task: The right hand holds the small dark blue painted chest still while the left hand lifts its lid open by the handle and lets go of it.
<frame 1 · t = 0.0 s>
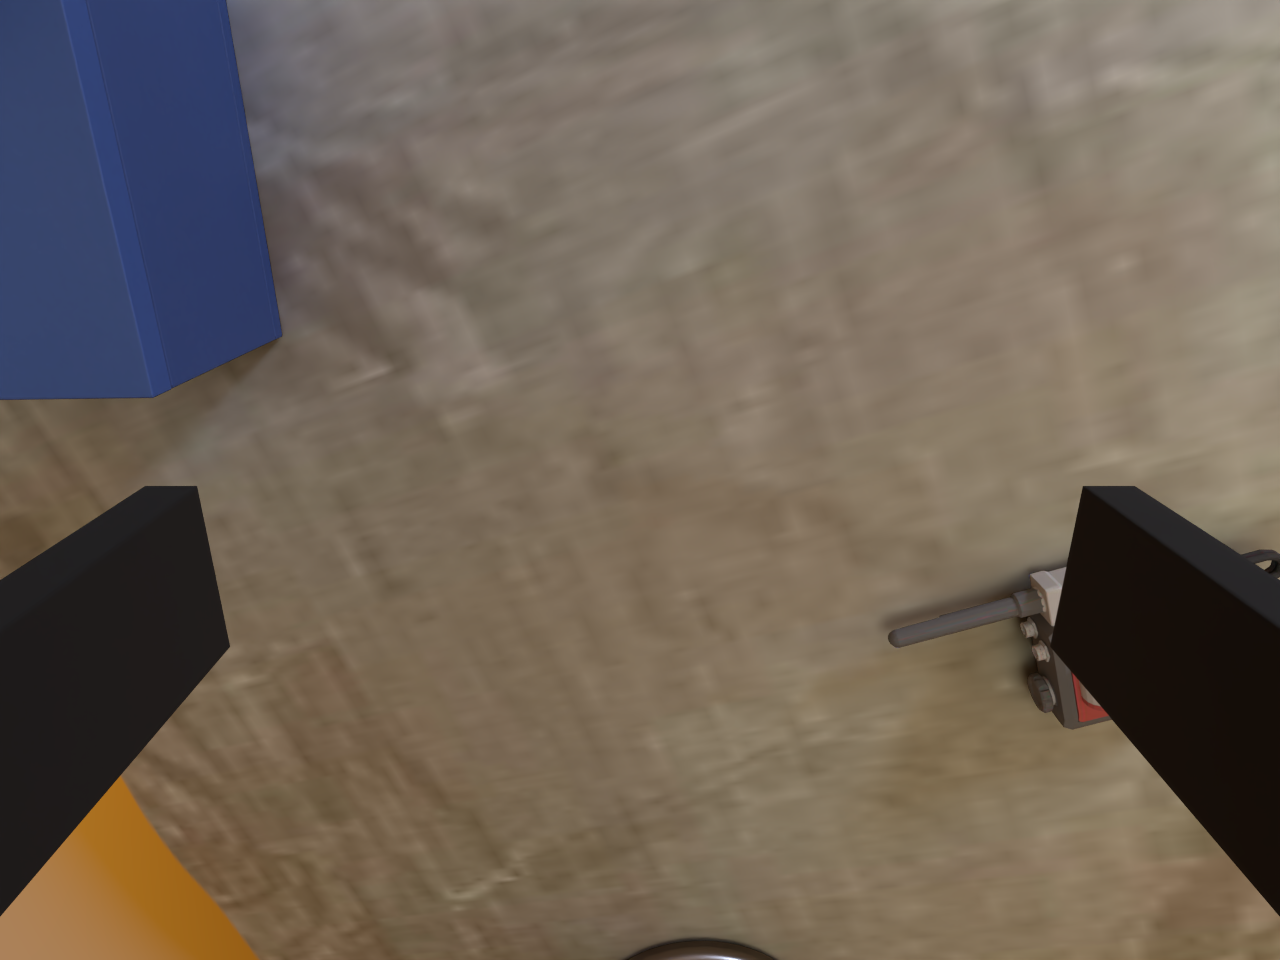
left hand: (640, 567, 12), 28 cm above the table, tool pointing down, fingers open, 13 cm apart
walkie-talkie: (1073, 626, 45), on the table
chest: (142, 170, 37), on the table
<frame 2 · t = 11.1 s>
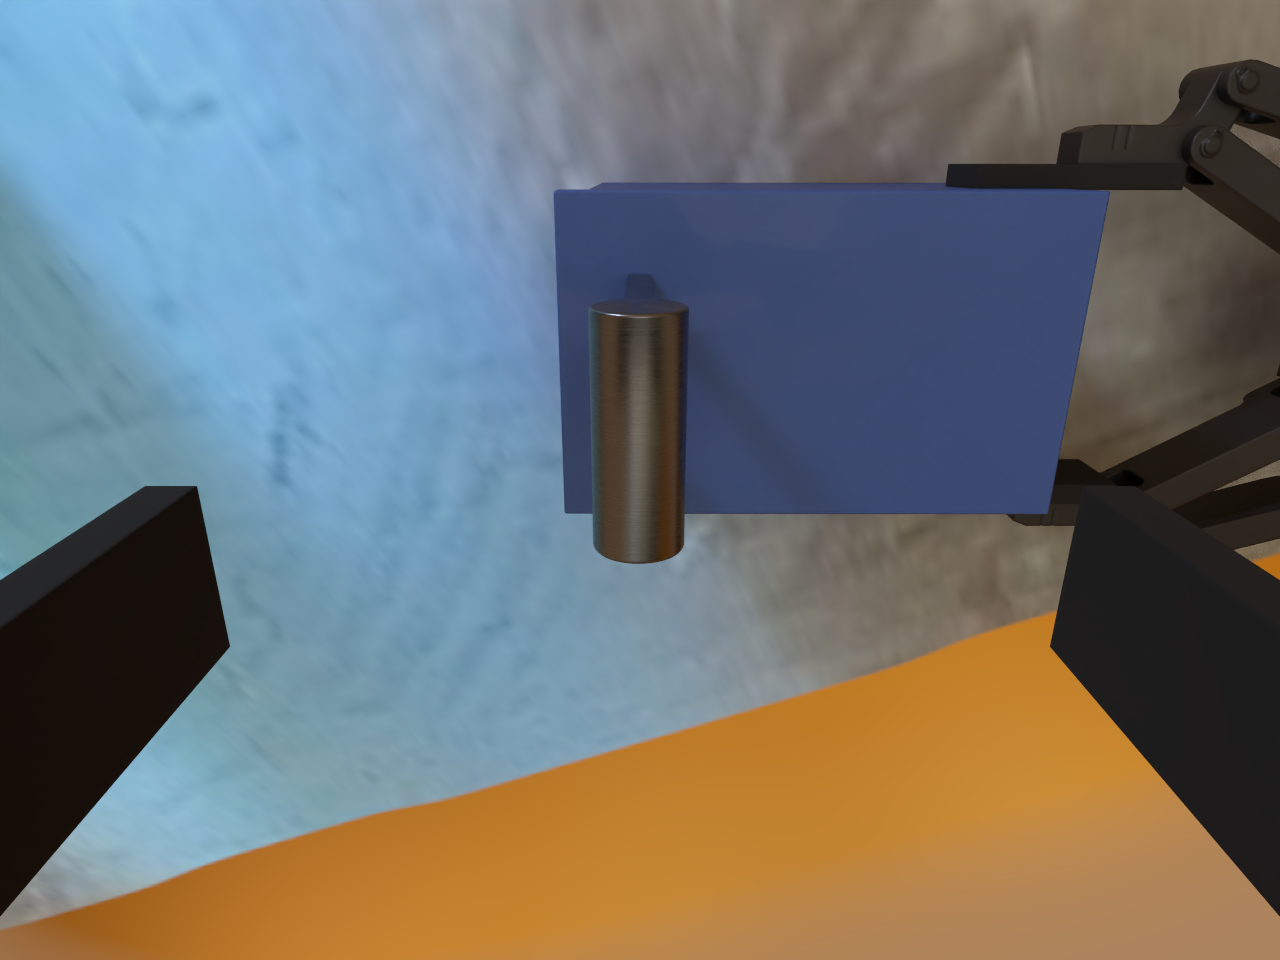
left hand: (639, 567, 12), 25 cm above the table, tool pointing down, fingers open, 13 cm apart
chest: (776, 305, 36), on the table, touching right hand
lid: (843, 392, 22), point 15 cm above the table, hinge at 0.0°
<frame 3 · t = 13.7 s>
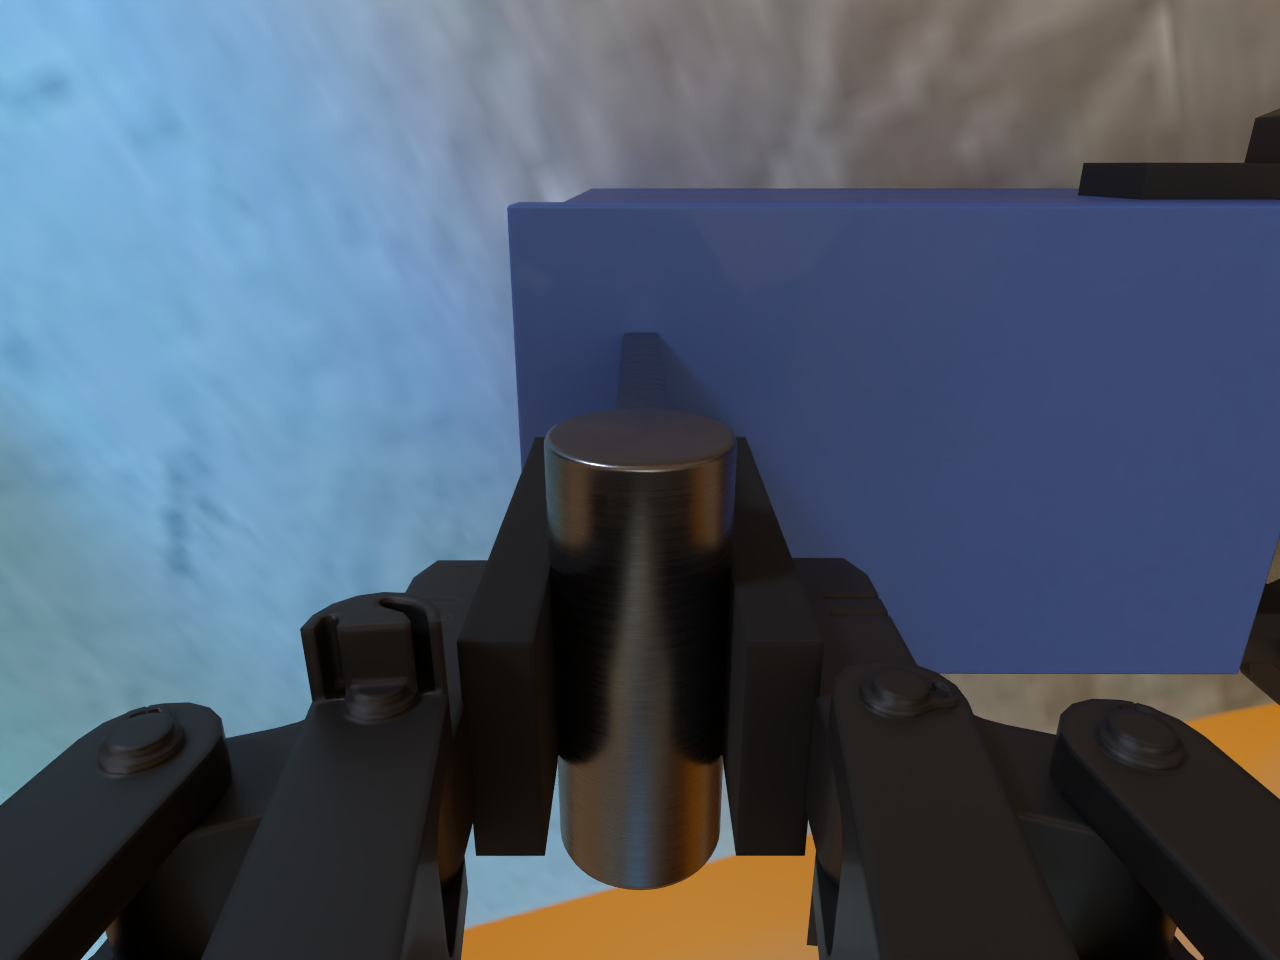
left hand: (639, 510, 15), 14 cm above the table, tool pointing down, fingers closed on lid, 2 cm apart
chest: (820, 349, 27), on the table, touching right hand
lid: (972, 534, 14), point 15 cm above the table, hinge at -0.1°, touching left hand
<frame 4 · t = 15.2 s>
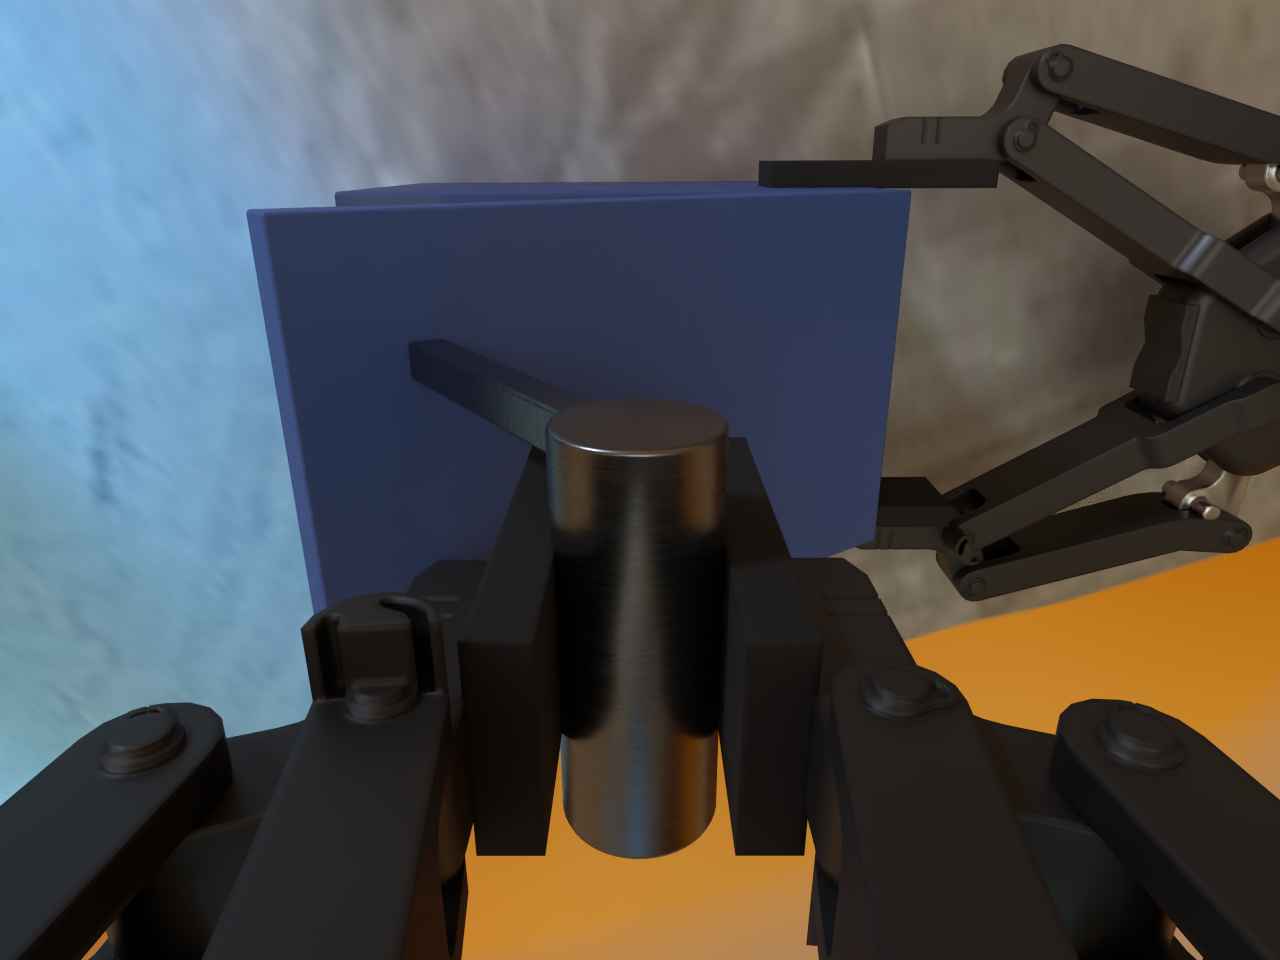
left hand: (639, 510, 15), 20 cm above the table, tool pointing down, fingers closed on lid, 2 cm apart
right hand: (756, 349, 27), fingers closed on chest, 10 cm apart
chest: (617, 313, 33), on the table, touching right hand
lid: (765, 469, 16), point 18 cm above the table, hinge at 34.0°, touching left hand
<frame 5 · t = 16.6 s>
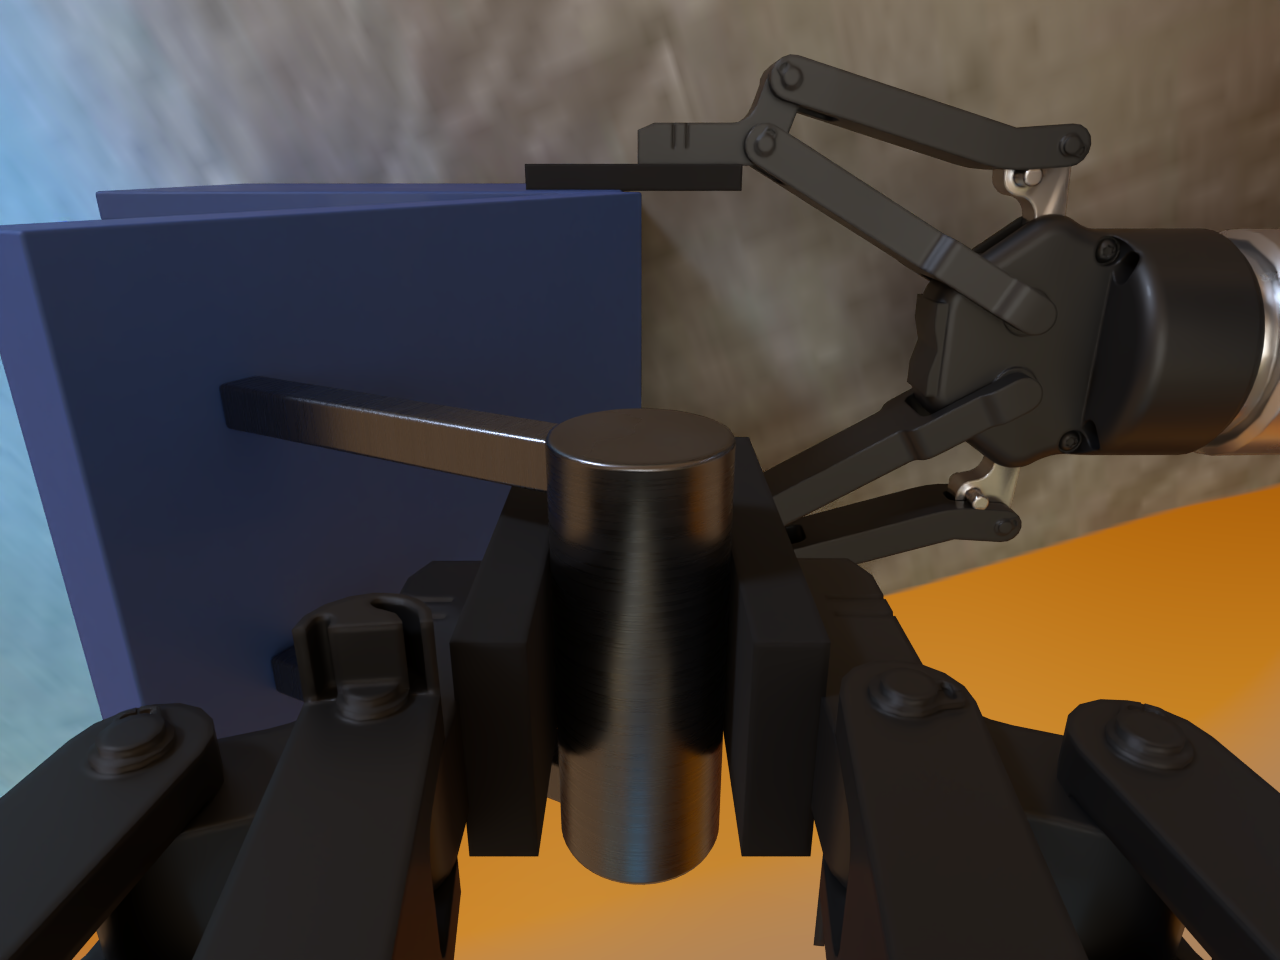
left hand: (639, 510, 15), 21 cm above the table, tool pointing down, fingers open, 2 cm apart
right hand: (538, 345, 28), fingers closed on chest, 10 cm apart
chest: (445, 310, 35), on the table, touching right hand
lid: (610, 470, 16), point 19 cm above the table, hinge at 61.8°
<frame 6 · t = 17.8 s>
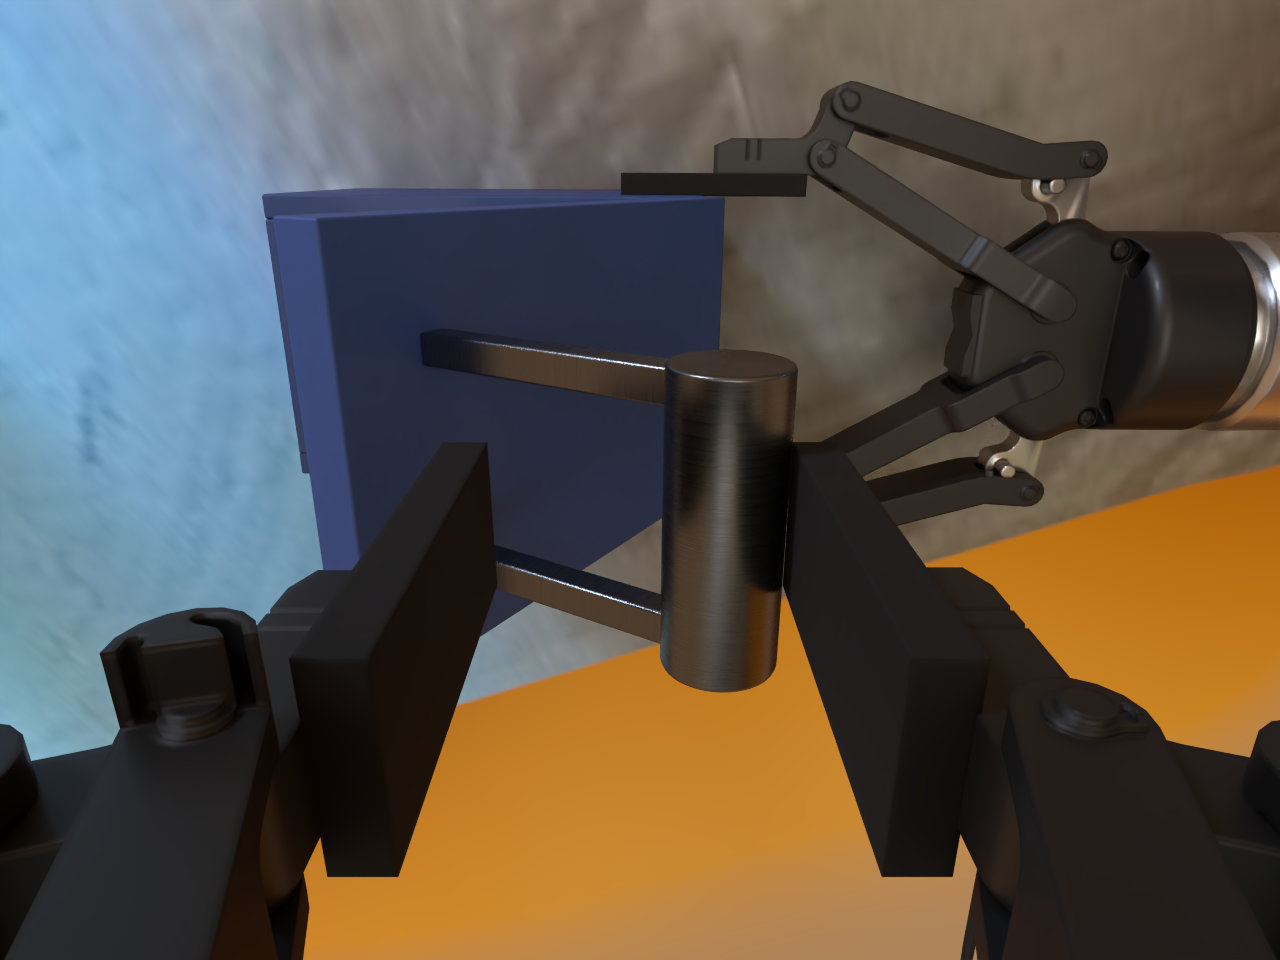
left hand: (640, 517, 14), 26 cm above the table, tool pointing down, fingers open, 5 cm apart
right hand: (622, 329, 32), fingers closed on chest, 10 cm apart
chest: (527, 302, 39), on the table, touching right hand
lid: (696, 418, 21), point 19 cm above the table, hinge at 57.8°, touching left hand
when the right hand's fingers open (7 cm above the table, at t = 20.3 s): chest stays where it is, on the table.
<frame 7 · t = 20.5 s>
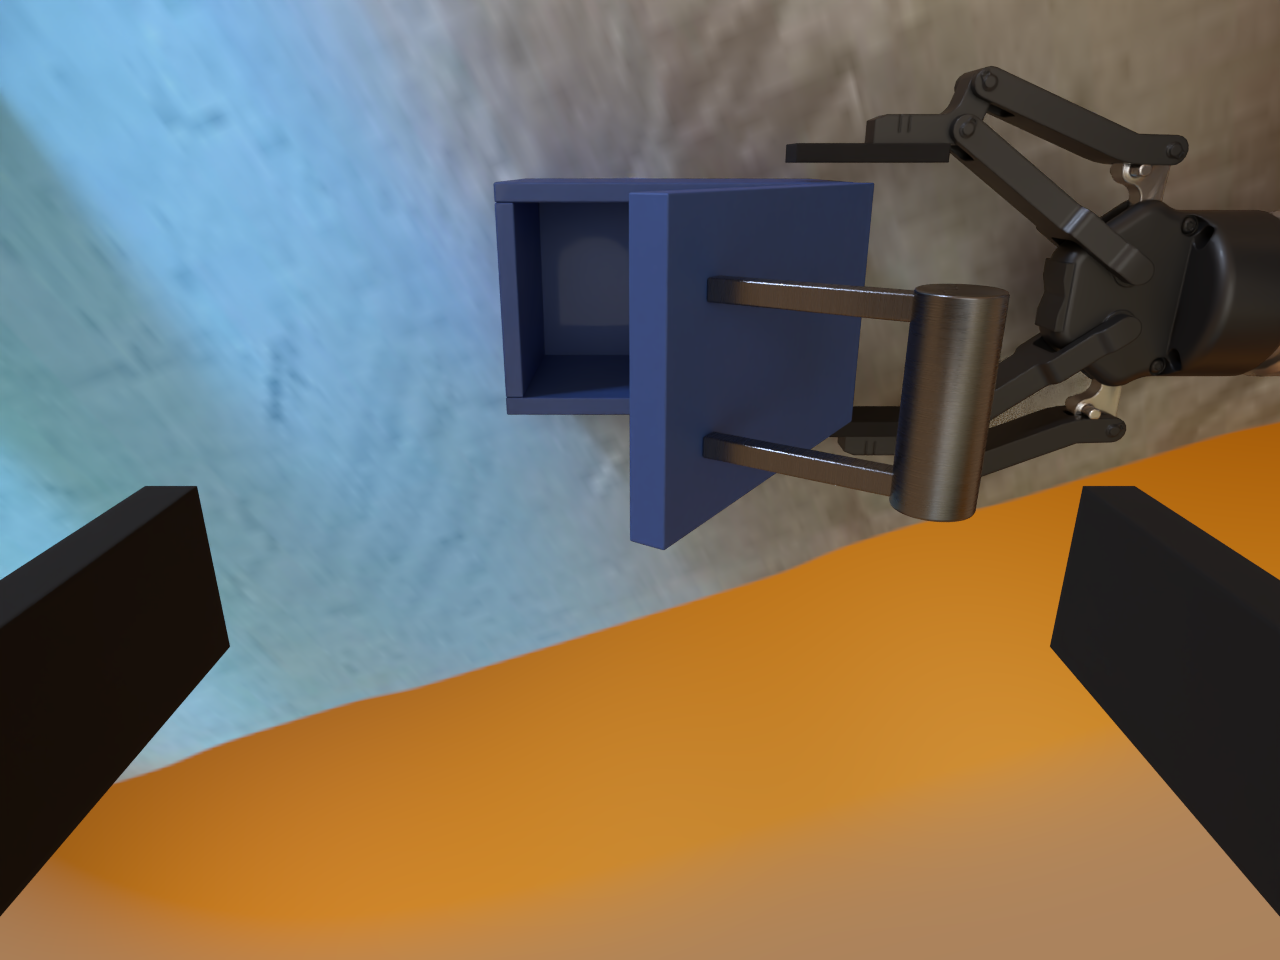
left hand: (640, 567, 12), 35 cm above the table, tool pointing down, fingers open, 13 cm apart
right hand: (781, 294, 38), fingers open, 12 cm apart
chest: (666, 275, 45), on the table
lid: (879, 350, 27), point 19 cm above the table, hinge at 56.6°
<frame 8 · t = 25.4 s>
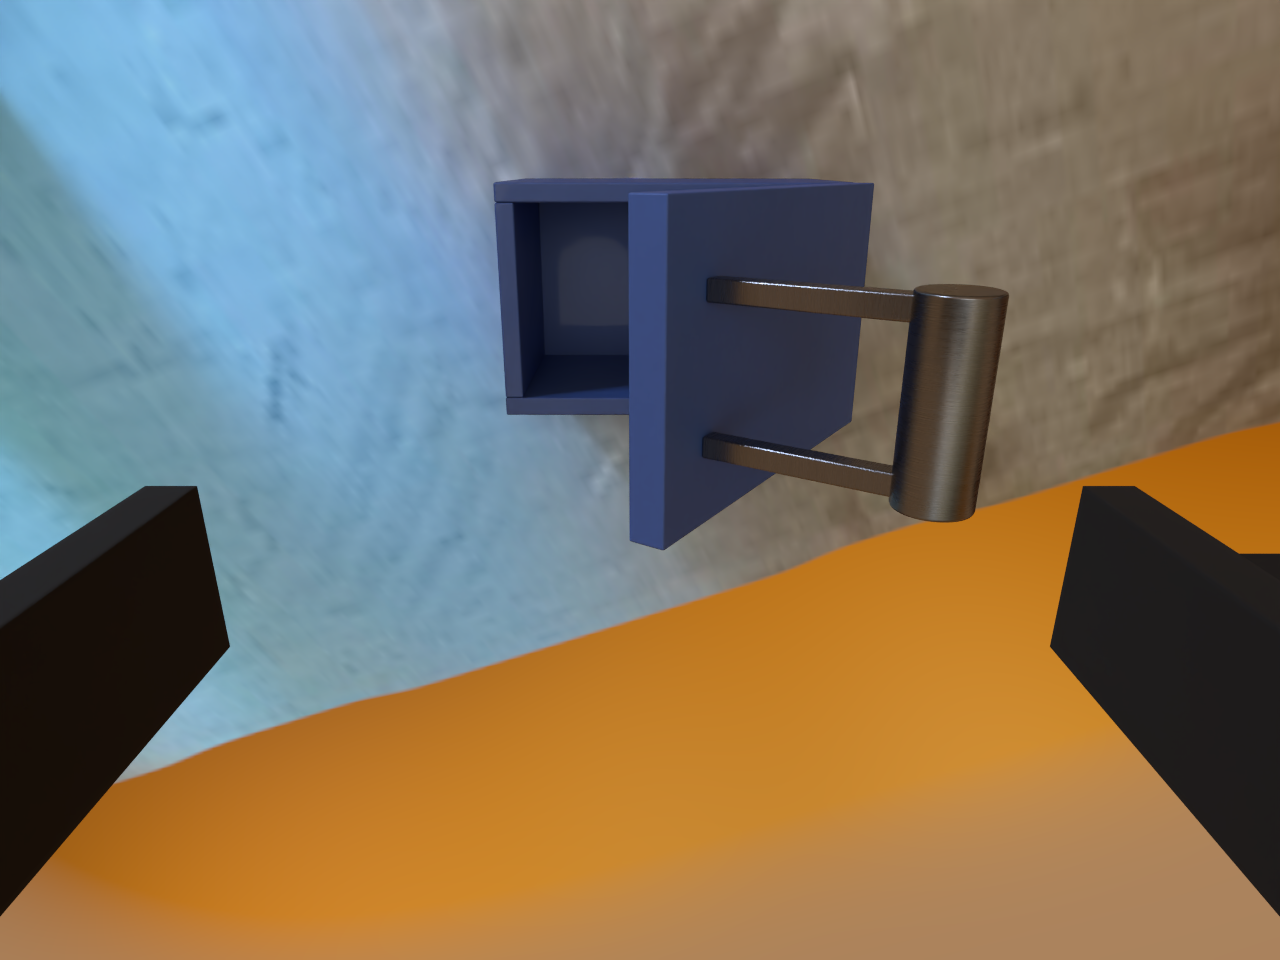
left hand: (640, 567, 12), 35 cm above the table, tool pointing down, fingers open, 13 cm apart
chest: (666, 275, 45), on the table
lid: (879, 350, 27), point 19 cm above the table, hinge at 56.6°
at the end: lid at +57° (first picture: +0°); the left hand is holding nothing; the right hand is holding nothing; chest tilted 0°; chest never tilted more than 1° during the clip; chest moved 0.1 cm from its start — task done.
